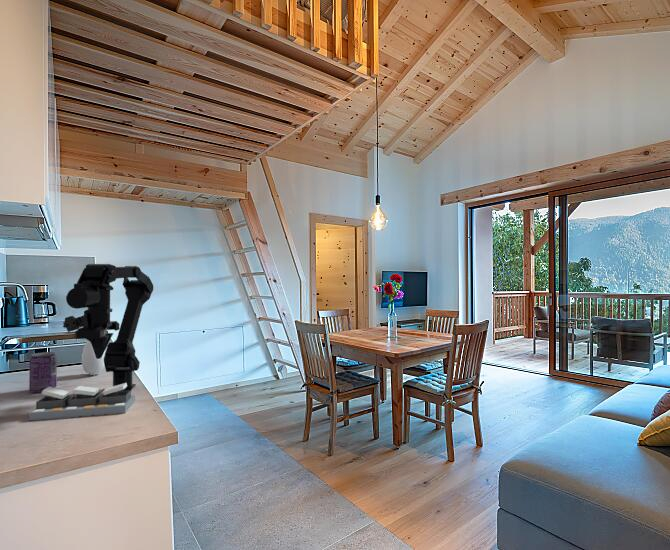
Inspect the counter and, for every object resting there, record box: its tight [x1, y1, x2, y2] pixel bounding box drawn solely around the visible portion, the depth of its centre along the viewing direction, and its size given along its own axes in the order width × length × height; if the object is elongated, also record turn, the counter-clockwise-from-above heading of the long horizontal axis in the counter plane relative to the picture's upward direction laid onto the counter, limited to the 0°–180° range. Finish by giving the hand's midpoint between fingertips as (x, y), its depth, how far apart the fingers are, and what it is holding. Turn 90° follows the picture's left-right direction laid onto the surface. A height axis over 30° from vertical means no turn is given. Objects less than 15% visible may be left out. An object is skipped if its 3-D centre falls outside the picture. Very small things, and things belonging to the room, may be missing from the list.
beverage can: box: [28, 351, 58, 393], centre depth 125 cm, size 7×7×12 cm
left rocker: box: [40, 386, 70, 399], centre depth 104 cm, size 4×5×1 cm
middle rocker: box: [72, 385, 100, 396], centre depth 106 cm, size 4×5×1 cm
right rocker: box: [102, 383, 127, 395], centre depth 108 cm, size 4×5×1 cm
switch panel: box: [28, 390, 136, 421], centre depth 106 cm, size 10×23×4 cm, turn 104°
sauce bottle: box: [81, 340, 106, 376], centre depth 145 cm, size 8×8×18 cm
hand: (98, 358), depth 113 cm, fingers closed
